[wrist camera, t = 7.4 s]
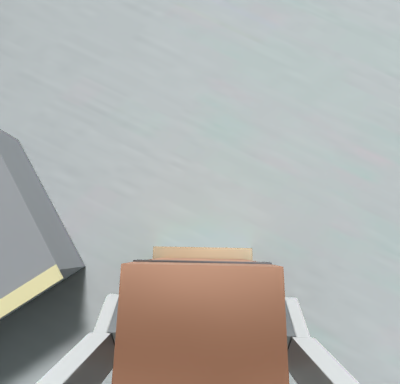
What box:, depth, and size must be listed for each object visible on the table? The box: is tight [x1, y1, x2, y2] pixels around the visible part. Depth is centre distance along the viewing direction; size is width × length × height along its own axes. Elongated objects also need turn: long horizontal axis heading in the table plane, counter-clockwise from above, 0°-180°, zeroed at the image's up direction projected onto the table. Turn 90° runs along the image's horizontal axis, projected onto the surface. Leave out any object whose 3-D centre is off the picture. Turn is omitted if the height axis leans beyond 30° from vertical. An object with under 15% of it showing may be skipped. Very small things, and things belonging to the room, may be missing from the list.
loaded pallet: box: [112, 247, 289, 384], centre depth 11 cm, size 6×6×9 cm
